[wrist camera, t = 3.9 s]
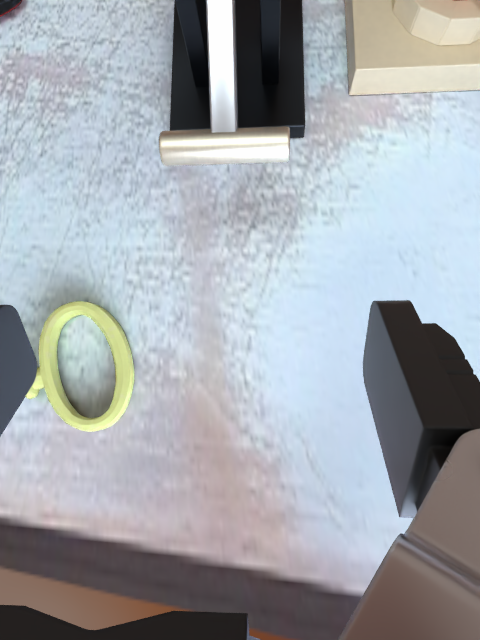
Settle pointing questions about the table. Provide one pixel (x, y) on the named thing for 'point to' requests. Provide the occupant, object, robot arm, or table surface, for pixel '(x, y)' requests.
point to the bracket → (242, 65)
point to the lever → (224, 110)
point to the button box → (412, 46)
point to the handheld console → (8, 6)
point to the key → (50, 373)
